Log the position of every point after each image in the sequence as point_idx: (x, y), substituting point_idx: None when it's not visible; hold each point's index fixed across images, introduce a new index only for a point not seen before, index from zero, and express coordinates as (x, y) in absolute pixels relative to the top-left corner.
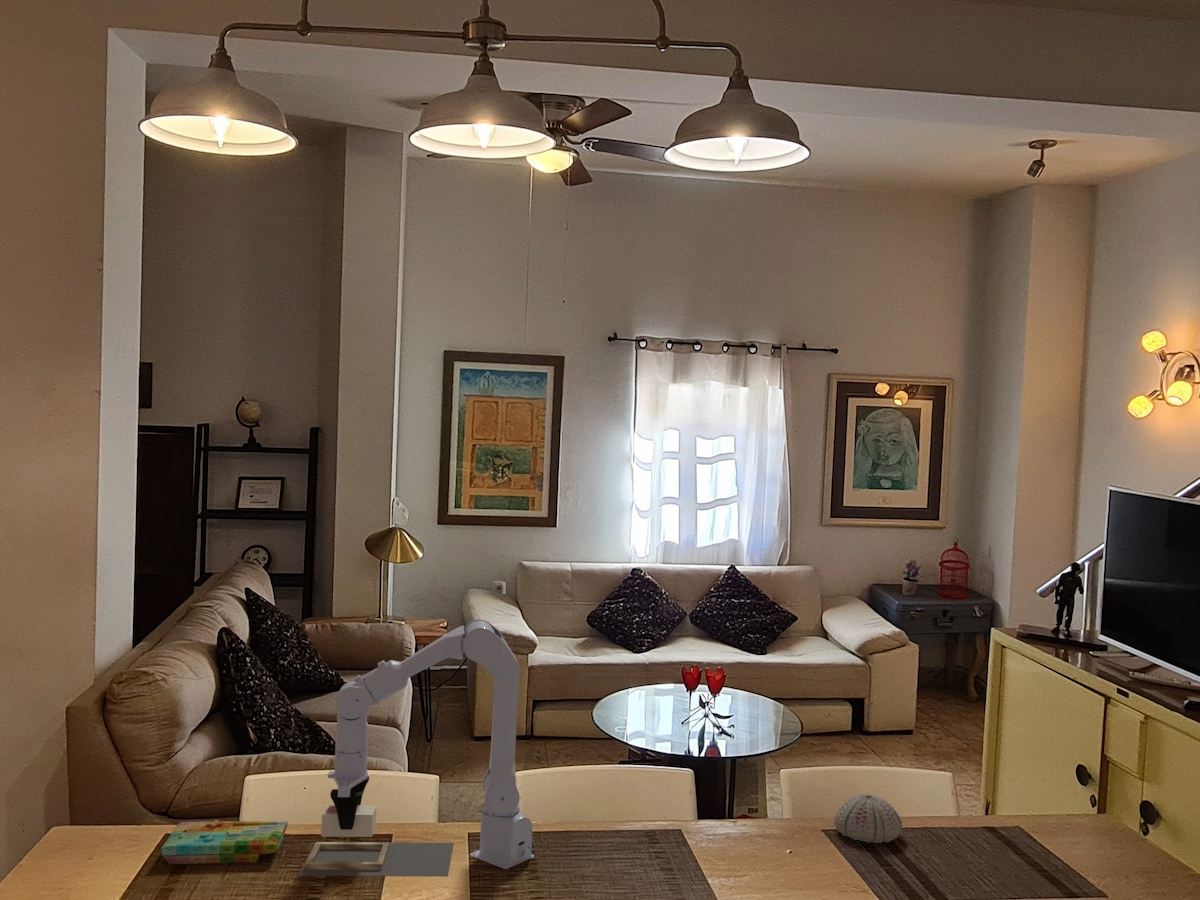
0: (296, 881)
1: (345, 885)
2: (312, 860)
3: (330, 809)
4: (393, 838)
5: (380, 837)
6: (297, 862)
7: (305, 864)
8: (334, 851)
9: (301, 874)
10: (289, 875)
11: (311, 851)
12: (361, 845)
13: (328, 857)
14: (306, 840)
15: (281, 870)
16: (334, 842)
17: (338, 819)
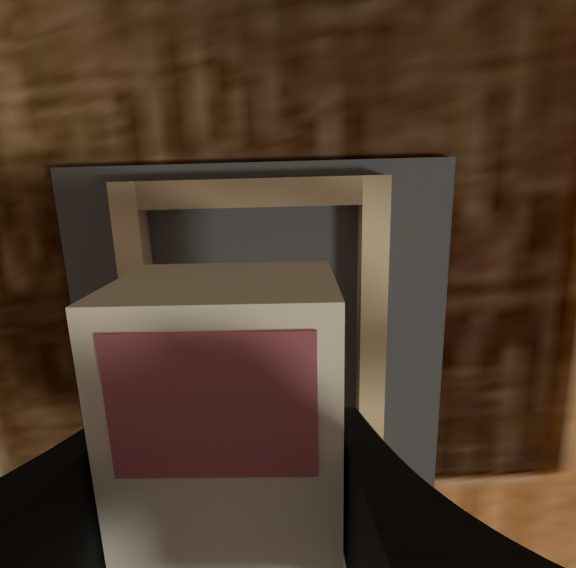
0: (26, 166)
1: (25, 374)
2: (150, 209)
3: (194, 364)
4: (504, 480)
5: (520, 430)
6: (232, 117)
7: (108, 183)
8: (334, 274)
9: (62, 178)
10: (82, 116)
11: (331, 163)
12: (358, 395)
13: (262, 261)
14: (512, 94)
15: (132, 60)
16: (384, 270)
17: (65, 440)
